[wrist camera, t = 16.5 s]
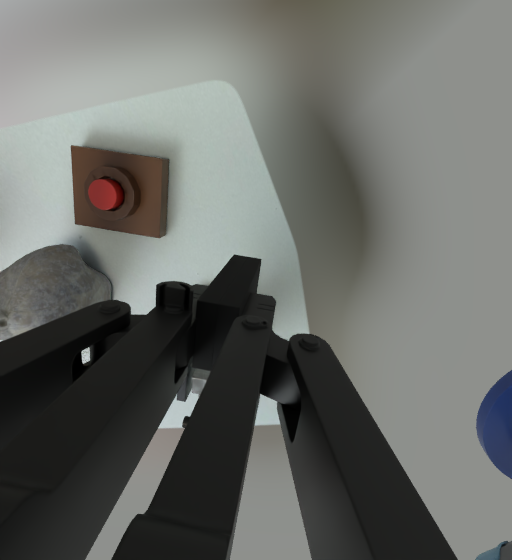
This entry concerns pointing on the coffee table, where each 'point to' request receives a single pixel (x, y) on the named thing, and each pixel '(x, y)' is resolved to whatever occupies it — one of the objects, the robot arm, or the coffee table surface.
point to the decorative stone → (47, 288)
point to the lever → (197, 386)
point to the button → (105, 194)
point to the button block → (136, 187)
